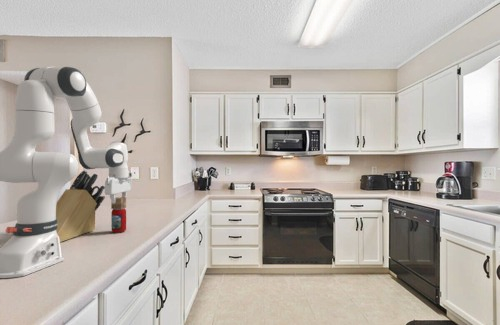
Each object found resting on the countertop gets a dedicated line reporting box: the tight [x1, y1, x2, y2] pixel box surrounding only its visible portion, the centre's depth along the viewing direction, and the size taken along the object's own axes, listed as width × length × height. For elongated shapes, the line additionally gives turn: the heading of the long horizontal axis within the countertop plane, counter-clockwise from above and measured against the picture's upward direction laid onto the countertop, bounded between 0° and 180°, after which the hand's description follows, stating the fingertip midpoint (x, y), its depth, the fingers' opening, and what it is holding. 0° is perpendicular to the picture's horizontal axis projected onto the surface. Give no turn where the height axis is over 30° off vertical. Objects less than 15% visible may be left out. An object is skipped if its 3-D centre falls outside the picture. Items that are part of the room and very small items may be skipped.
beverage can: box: [110, 208, 127, 234], centre depth 143 cm, size 7×7×12 cm
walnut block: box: [110, 197, 127, 210], centre depth 143 cm, size 5×5×5 cm
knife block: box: [56, 169, 106, 243], centre depth 138 cm, size 11×35×31 cm, turn 173°
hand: (118, 201), depth 143 cm, fingers open, 8 cm apart
